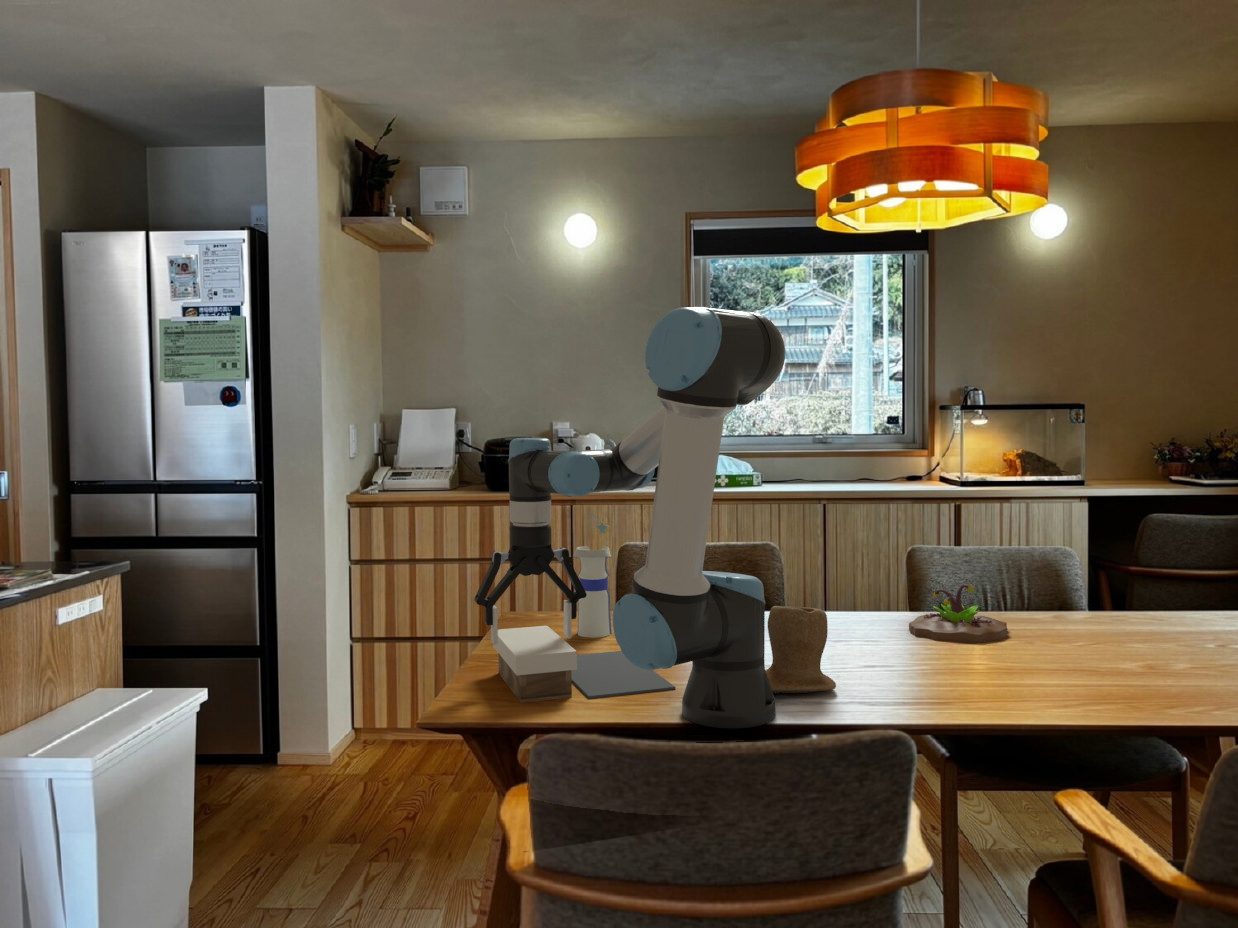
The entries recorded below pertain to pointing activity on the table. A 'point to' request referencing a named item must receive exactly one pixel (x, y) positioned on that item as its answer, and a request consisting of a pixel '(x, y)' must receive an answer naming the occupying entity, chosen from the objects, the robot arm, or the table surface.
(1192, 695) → the table surface
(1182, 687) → the table surface
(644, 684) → the rubber mat
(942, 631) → the plant
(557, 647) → the lid
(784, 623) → the brown suede boot shape
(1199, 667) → the table surface
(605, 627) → the water bottle
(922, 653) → the table surface
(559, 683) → the walnut box
